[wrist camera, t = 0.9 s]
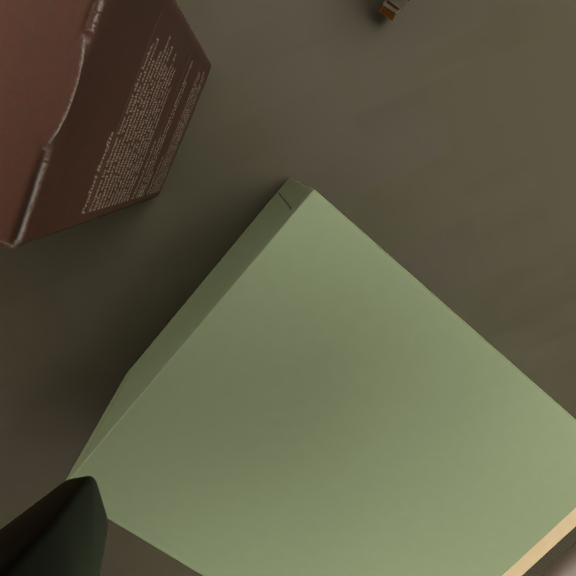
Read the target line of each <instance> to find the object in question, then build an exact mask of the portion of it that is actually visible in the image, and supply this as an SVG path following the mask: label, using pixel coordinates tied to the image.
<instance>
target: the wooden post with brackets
mask: <svg viewBox="0 0 576 576" xmlns="http://www.w3.org/2000/svg"><path fill="white" fill-rule="evenodd" d="M408 1H409V0H385V1H384V2H383V4H382V6H381V8H380V10H379V12H381V13H382V14H383V15H385V16H386V17H388V18H389V19H391V20H393V18H394V17H395V15H396V14H398V12H399V10H400V9H401V10H402V9H403V8H404V6H405V5H406V4H407V2H408Z"/></svg>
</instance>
